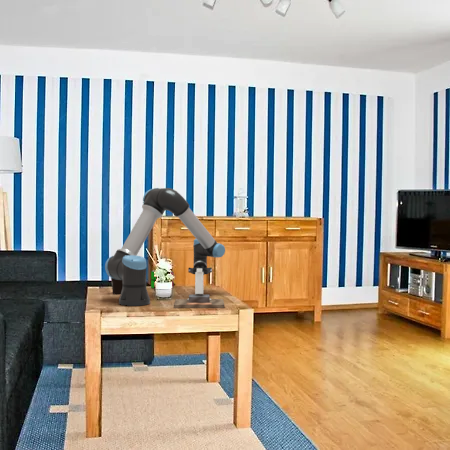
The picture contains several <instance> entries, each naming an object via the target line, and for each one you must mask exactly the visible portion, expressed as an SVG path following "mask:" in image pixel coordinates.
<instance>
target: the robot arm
mask: <svg viewBox="0 0 450 450" xmlns="http://www.w3.org/2000/svg"><path fill="white" fill-rule="evenodd" d="M142 201H143V202H142V203H143V204H142V207H141V208H142V212H141V213H140V214H139V217H138V219H137V220H136V222H135V224H134V226H133V227H132V229H131V231H130V233H129V235H128V236H127V238H126V239H125V241H124V243H123V245H122V247H121V248H120V249H119V248H118V249H117V250H116V251H115V253H114V255H112V256H110V257H108V258H107V260H106V261H105V264H104V270H105V274H107V276H108V277H109V278H110V279H111V278H113V279H116V280H123V288H122V292H121V294H119V299H118V304H119V305H120V304H121V305H120V306H125V305H127V306H128V307H134V306H135V307H139V306H148V305H150V304H151V299H150V295H149V292H148V289H147V266H148V265H147V260H146V258H145V257H143V256H141V255H138V253H139V252H140V250H141V248H142V247H143V244H144V243H145V241H146V240H147V238H148V236H149V234H150V232H151V230H152V229H153V227H154V225H155V223H156V222H157V220H158V219H159V218H162V216H163V215H164V214H165V211H168V212H170V213H172V215H173V216H175V218H176V217H177V218H178V219H179V220H180V222H182V223H183V224H184V226H185V227H186V229H188V230H189V232H190V233H191V234H192V236H193V237H195V238H194V239H193V267H191V266H190V267H188V271H187V273H190V274H192V275H195V272H197V268H202V272H203V276H204V275H209V274H210V273H212V272H213V267H208V257H210V258H222V257H223V256H224V255H225V253H226V247H225V245H224V244H222V243H219V242H217V240H215V238H214V237H213V235H212V234H211V233H210V232H209V230H208V229H207V227H205V225H204V224H203V223H202V221H200V219H199V218H198V217H197V216H196V214H195V213H194V212H193V210H192V209H191V208H190V204H189V203H188V201H187V199H185V198H184V196H182V194H181V193H179V192H178V191H177V190H175V189H173V188H170V187H165V188H161V187H160V188H159V187H154V188H150V189H149V190H147V191H145V193H144V195H143V197H142Z"/></svg>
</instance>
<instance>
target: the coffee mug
mask: <svg viewBox="0 0 450 450" xmlns="http://www.w3.org/2000/svg"><path fill="white" fill-rule="evenodd" d="M110 281H111V289H112V295H121V292H122V288H123V280H116V279H113V278H111V277H110Z"/></svg>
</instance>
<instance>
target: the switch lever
mask: <svg viewBox="0 0 450 450" xmlns="http://www.w3.org/2000/svg"><path fill="white" fill-rule="evenodd" d="M194 276H195V277H194V281H195V284H194V290H195V291H194V295H204V275H203V272H202V268H197V272H195V274H194Z"/></svg>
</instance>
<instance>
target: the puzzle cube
mask: <svg viewBox="0 0 450 450" xmlns="http://www.w3.org/2000/svg"><path fill="white" fill-rule="evenodd" d="M154 271H155V270H151V272H150V273H151V274H150V277H151V278H150V279H151V281H150V288H151V289H154V282H155V280H156V277H154ZM170 271H171V270H170ZM171 274H172V275H173V276H174V271H171ZM172 286H173V287H174V280H173V281H172Z"/></svg>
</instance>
